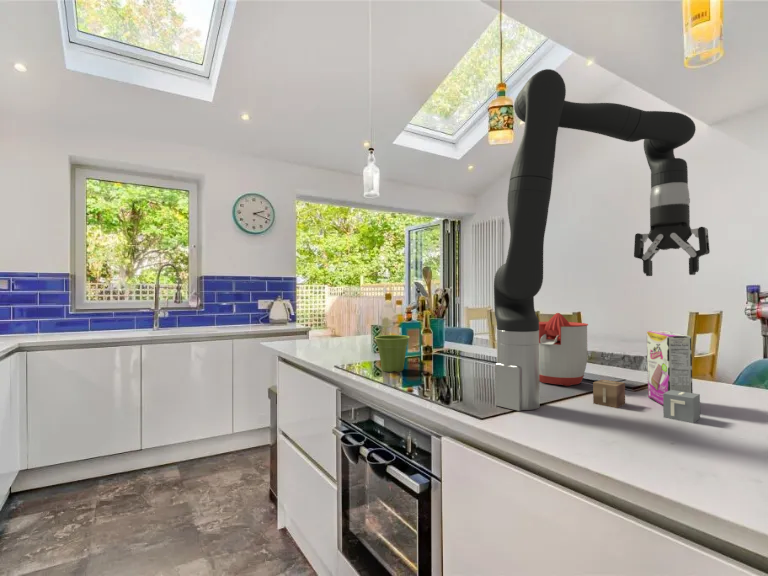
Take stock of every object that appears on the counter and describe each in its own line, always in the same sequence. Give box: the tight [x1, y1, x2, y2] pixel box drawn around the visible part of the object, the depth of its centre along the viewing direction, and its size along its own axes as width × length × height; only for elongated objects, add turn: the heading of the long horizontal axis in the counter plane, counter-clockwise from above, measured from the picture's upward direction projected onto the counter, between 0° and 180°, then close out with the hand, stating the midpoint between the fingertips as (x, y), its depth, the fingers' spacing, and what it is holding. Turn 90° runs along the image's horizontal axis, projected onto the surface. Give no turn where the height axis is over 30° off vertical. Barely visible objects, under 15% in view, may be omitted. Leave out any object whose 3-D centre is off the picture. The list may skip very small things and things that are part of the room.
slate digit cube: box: [662, 390, 701, 424], centre depth 84 cm, size 5×5×5 cm
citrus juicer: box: [539, 312, 589, 387], centre depth 118 cm, size 16×17×20 cm
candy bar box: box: [646, 330, 693, 406], centre depth 94 cm, size 11×5×16 cm, turn 168°
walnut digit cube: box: [592, 379, 626, 409], centre depth 94 cm, size 5×5×5 cm
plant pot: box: [374, 334, 411, 373], centre depth 137 cm, size 12×12×11 cm
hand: (670, 275), depth 94 cm, fingers open, 8 cm apart
